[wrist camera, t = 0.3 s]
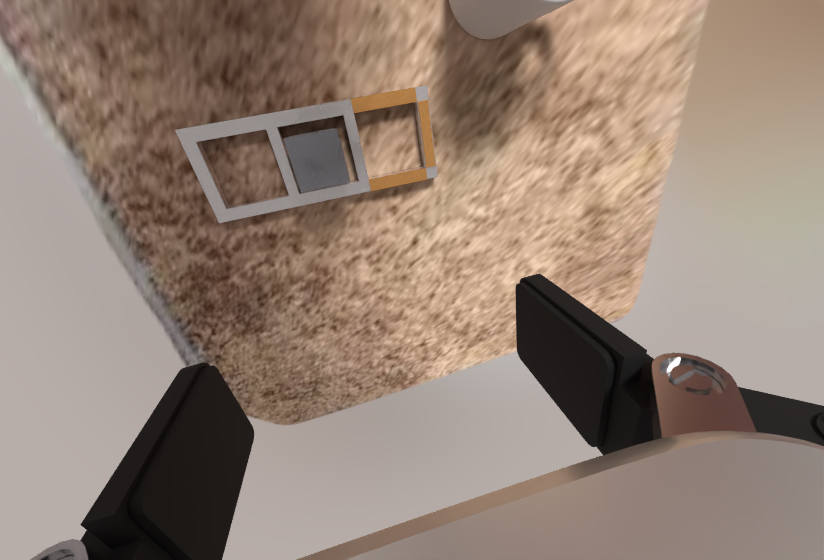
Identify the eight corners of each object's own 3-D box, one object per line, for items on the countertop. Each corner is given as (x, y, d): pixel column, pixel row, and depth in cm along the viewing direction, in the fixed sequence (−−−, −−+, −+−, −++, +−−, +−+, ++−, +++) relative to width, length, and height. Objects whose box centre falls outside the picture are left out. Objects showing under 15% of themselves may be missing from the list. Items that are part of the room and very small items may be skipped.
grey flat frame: (180, 129, 29) (173, 130, 27) (423, 86, 31) (427, 85, 30) (222, 219, 33) (218, 223, 32) (434, 175, 35) (438, 177, 34)
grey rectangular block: (291, 135, 31) (283, 138, 26) (336, 126, 31) (337, 128, 26) (306, 181, 33) (300, 192, 28) (347, 172, 33) (350, 182, 28)
